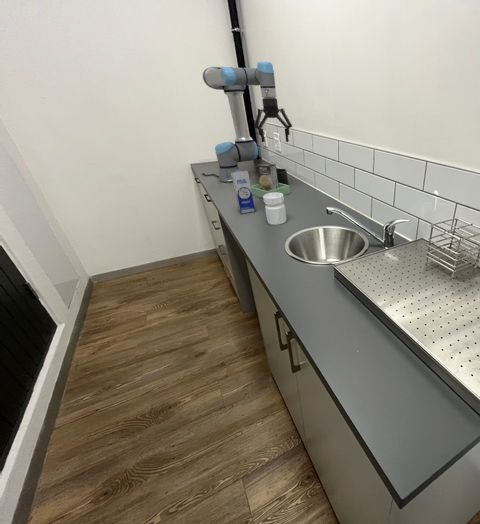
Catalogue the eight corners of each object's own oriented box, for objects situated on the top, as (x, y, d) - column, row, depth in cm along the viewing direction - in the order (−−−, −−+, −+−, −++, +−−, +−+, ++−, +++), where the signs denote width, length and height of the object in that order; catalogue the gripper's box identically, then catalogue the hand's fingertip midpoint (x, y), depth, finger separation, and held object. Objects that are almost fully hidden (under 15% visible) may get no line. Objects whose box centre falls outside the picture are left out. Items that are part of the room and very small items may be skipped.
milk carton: (240, 214, 142) (231, 172, 132) (238, 210, 148) (229, 169, 138) (255, 211, 145) (247, 170, 135) (252, 207, 150) (245, 167, 140)
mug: (286, 181, 194) (284, 167, 190) (289, 185, 185) (287, 171, 180) (271, 182, 191) (269, 168, 187) (274, 187, 182) (272, 172, 177)
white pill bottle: (277, 226, 129) (273, 199, 123) (263, 222, 133) (258, 196, 127) (290, 219, 135) (287, 194, 129) (276, 216, 139) (273, 191, 133)
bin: (250, 193, 171) (248, 186, 169) (272, 187, 181) (271, 180, 179) (268, 199, 161) (266, 191, 159) (290, 193, 171) (289, 185, 169)
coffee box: (260, 193, 170) (255, 165, 162) (266, 190, 175) (261, 162, 167) (274, 195, 167) (269, 166, 159) (279, 191, 172) (275, 163, 164)
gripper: (243, 98, 149) (251, 143, 160) (291, 97, 148) (296, 142, 158) (248, 98, 156) (255, 141, 167) (294, 97, 154) (299, 140, 165)
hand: (275, 141), depth 162 cm, fingers open, 13 cm apart
